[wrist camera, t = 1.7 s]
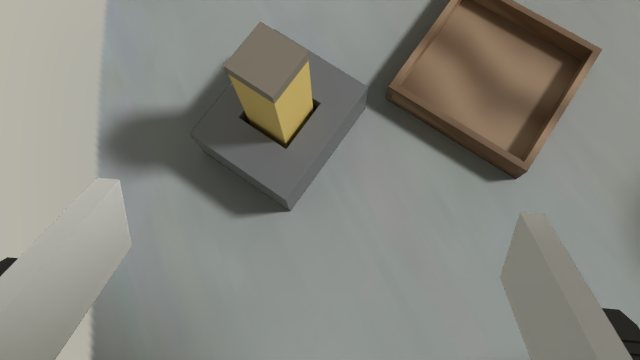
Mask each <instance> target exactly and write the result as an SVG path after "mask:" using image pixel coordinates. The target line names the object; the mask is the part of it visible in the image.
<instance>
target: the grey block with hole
mask: <svg viewBox="0 0 640 360" xmlns="http://www.w3.org/2000/svg"><path fill="white" fill-rule="evenodd" d="M274 30H275V29H274ZM275 31H276V32H278V31H277V30H275ZM278 33H280V32H278ZM280 34H281V33H280ZM281 35H283V34H281ZM283 36H285V35H283ZM285 37H286V36H285ZM286 38H288V37H286ZM288 39H289V38H288ZM289 40H291V39H289ZM291 41H293V40H291ZM293 42H294V41H293ZM294 43H296V42H294ZM296 44H297V45H299V44H298V43H296ZM299 46H301V45H299ZM301 47H302V46H301ZM302 48H304V47H302ZM304 49H306V48H304ZM306 50H307V49H306ZM307 51H309V50H307ZM309 70H310V81H311V91H312V102H313V114H312V116H311V117H310V118H309V120H308V121H307V122H306V124H305V125H304V126H303V128H302V129H301V130H300V132H299V133H298V134H297V136H296V137H295V138H294V140H293V141H292V142H291V144H290V145H289V146H288V148H287V149H285V148H284V147H282V146H281V145H279V144H278V143H276V142H275V141H273V140H272V139H270V138H269V137H267V136H266V135H264V134H263V133H261V132H260V131H258V130H257V129H255V128H254V127H252V126H251V124H250V122H249V120H248V118H247V115H246V113H245V111H244V109H243V106H242V104H241V102H240V99H239V97H238V95H237V93H236V90H235V88H234V86H233V84H232V82H231V83H230V85H229V86H228V87H227V88H226V90H225V91H224V92H223V93H222V94H221V96H220V97H219V98H218V99H217V101H216V102H215V103H214V104H213V106H212V107H211V108H210V109H209V110H208V112H207V113H206V114H205V115H204V117H203V118H202V119H201V120H200V122H199V123H198V124H197V125H196V126H195V128H194V129H193V130H192V131H191V133H190V135H191V136H192V137H193V139H194V140H195V141H196V142H197V143H198V145H199V146H200V147H201V148H202V150H203V151H204V152H206V153H207V154H209V155H210V156H212V157H213V158H215V159H216V160H217V161H219V162H220V163H222V164H223V165H225V166H226V167H227V168H229V169H230V170H232V171H233V172H235V173H236V174H238V175H239V176H240V177H242V178H243V179H245V180H246V181H248V182H249V183H251V184H252V185H253V186H255V187H256V188H258V189H259V190H261V191H262V192H264V193H265V194H266V195H268V196H269V197H271V198H272V199H274V200H275V201H277V202H278V203H279V204H281V205H282V206H284V207H285V208H287V209H288V210H289V211H291V210H292V208H293V207H294V206H295V204H296V203H297V201H298V200H299V199H300V197H301V196H302V195H303V193H304V192H305V190H306V189H307V188H308V186H309V185H310V184H311V182H312V181H313V179H314V178H315V177H316V175H317V174H318V173H319V171H320V170H321V168H322V167H323V166H324V164H325V163H326V162H327V160H328V159H329V157H330V156H331V155H332V153H333V152H334V151H335V149H336V148H337V146H338V145H339V144H340V142H341V141H342V140H343V138H344V137H345V135H346V134H347V133H348V131H349V130H350V129H351V127H352V126H353V124H354V123H355V122H356V120H357V119H358V118H359V116H360V115H361V113H362V112H363V111H364V109H365V105H366V99H367V93H368V87H367V86H366V85H364V84H362V83H361V82H359V81H357V80H356V79H354V78H353V77H351V76H349V75H348V74H346V73H345V72H343V71H341V70H340V69H338V68H336V67H335V66H333V65H332V64H330V63H328V62H327V61H325V60H323V59H322V58H320V57H319V56H317V55H315V54H314V53H312V52H311V51H309Z"/></svg>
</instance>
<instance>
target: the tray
mask: <svg viewBox="0 0 640 360" xmlns="http://www.w3.org/2000/svg"><path fill="white" fill-rule="evenodd" d="M601 51H602V49H600V48H599V47H597V46H595V45H593V44H591V43H589V42H588V41H586V40H584V39H582V38H580V37H579V36H577V35H575V34H573V33H571V32H569V31H568V30H566V29H564V28H562V27H560V26H558V25H557V24H555V23H553V22H551V21H549V20H547V19H546V18H544V17H542V16H540V15H538V14H536V13H535V12H533V11H531V10H529V9H527V8H526V7H524V6H522V5H520V4H518V3H516V2H515V1H513V0H450V2H449V3H448V4H447V6H446V7H445V9H444V10H443V11H442V13H441V14H440V16H439V17H438V18H437V20H436V21H435V22H434V24H433V25H432V27H431V28H430V29H429V31H428V32H427V34H426V35H425V36H424V38H423V39H422V40H421V42H420V43H419V45H418V46H417V47H416V49H415V50H414V52H413V53H412V54H411V56H410V57H409V58H408V60H407V61H406V63H405V64H404V65H403V67H402V68H401V70H400V71H399V72H398V74H397V75H396V76H395V78H394V79H393V81H392V82H391V83H390V85H389V86H388V90H387V94H386V99H388V100H389V101H391V102H392V103H394V104H396V105H397V106H399V107H401V108H402V109H404V110H405V111H407V112H409V113H410V114H412V115H413V116H415V117H417V118H418V119H420V120H422V121H423V122H425V123H426V124H428V125H430V126H431V127H433V128H435V129H436V130H438V131H439V132H441V133H443V134H444V135H446V136H447V137H449V138H451V139H452V140H454V141H456V142H457V143H459V144H460V145H462V146H464V147H465V148H467V149H469V150H470V151H472V152H473V153H475V154H477V155H478V156H480V157H481V158H483V159H485V160H486V161H488V162H490V163H491V164H493V165H494V166H496V167H498V168H499V169H501V170H503V171H504V172H506V173H507V174H509V175H511V176H512V177H514V178H515V179H517V178H518V177H520V176H521V175H523V174H524V173H526V172H527V171H528V169H529V168H530V166H531V164H532V163H533V161H534V160H535V158H536V156H537V155H538V153H539V151H540V150H541V148H542V147H543V145H544V143H545V142H546V140H547V138H548V137H549V135H550V134H551V132H552V130H553V129H554V127H555V125H556V124H557V122H558V121H559V119H560V117H561V116H562V114H563V112H564V111H565V109H566V108H567V106H568V104H569V103H570V101H571V100H572V98H573V96H574V95H575V93H576V91H577V90H578V88H579V87H580V85H581V83H582V82H583V80H584V78H585V77H586V75H587V74H588V72H589V70H590V69H591V67H592V65H593V64H594V62H595V61H596V59H597V57H598V56H599V54H600V52H601Z"/></svg>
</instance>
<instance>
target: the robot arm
mask: <svg viewBox="0 0 640 360" xmlns="http://www.w3.org/2000/svg"><path fill="white" fill-rule="evenodd" d="M131 246H132V244H131V239H130V234H129V228H128V223H127V217H126V212H125V207H124V201H123V196H122V190H121V185H120V180H116V179H104V178H96V179H95V180H94V181H93V183H92V184H91V185H90V186H89V187H88V188H87V189H86V190H85V191H84V192H83V193H82V194H81V195H80V196H79V197H78V198H77V199H76V200H75V201H74V202H73V203H72V204H71V205H70V206H69V207H68V208H67V209H66V210H65V211H64V212H63V213H62V214H61V215H60V216H59V217H58V218H57V219H56V220H55V221H54V222H53V223H52V224H51V225H50V226H49V227H48V228H47V229H46V230H45V232H44V233H43V234H42V235H41V236H40V237H39V238H38V239H37V240H36V241H35V242H34V243H33V244H32V245H31V246H30V247H29V248H28V249H27V250H26V251H25V252H24V253H23V254H22V255H21V256H20V257H19V258H6V259H4V260H2V261H1V262H0V360H55V359H56V357H57V356H58V354H59V353H60V351H61V349H62V348H63V347H64V345H65V344H66V342H67V341H68V339H69V338H70V337H71V335H72V334H73V332H74V331H75V329H76V328H77V326H78V325H79V323H80V322H81V320H82V319H83V317H84V316H85V314H86V313H87V311H88V310H89V309H90V307H91V306H92V304H93V303H94V301H95V300H96V298H97V297H98V295H99V294H100V292H101V291H102V289H103V288H104V286H105V285H106V283H107V282H108V280H109V279H110V277H111V276H112V275H113V273H114V272H115V270H116V269H117V267H118V266H119V264H120V263H121V261H122V260H123V258H124V257H125V255H126V254H127V252H128V251H129V249H130V248H131ZM500 279H501V282H502V284H503V287H504V290H505V292H506V295H507V298H508V300H509V303H510V305H511V308H512V311H513V313H514V316H515V319H516V321H517V324H518V326H519V329H520V332H521V334H522V337H523V340H524V342H525V345H526V348H527V350H528V353H529V355H530V358H531V360H640V329H639V328H638V326H637V325H636V324H635V323H634V322H633V321H632V320H630V319H629V318H628V317H627V316H626V315H625V314H624V313H622V312H621V311H620V310H616V309H605V308H601V306H600V305H599V303H598V301H597V300H596V298H595V296H594V295H593V293H592V291H591V290H590V288H589V286H588V285H587V283H586V282H585V280H584V278H583V277H582V275H581V273H580V272H579V270H578V268H577V267H576V265H575V263H574V262H573V260H572V258H571V257H570V255H569V253H568V252H567V250H566V249H565V247H564V245H563V244H562V242H561V240H560V239H559V237H558V235H557V234H556V232H555V230H554V229H553V227H552V225H551V224H550V222H549V220H548V219H547V217H546V215H545V214H541V213H528V212H520V214H519V218H518V221H517V224H516V227H515V230H514V234H513V237H512V240H511V243H510V247H509V250H508V253H507V256H506V259H505V263H504V266H503V269H502V272H501V276H500Z"/></svg>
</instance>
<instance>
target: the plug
mask: <svg viewBox="0 0 640 360" xmlns="http://www.w3.org/2000/svg"><path fill="white" fill-rule="evenodd" d="M224 68H225V70H226V72H227V74H228V75H229V77H230V79H231V81H232V84H233V86H234V88H235V90H236V93H237V95H238V97H239V99H240V102H241V104H242V106H243V109H244V111H245V113H246V115H247V118H248V120H249V122H250V124H251V126H252V127H254V128H255V129H257V130H258V131H260V132H261V133H263V134H264V135H266V136H267V137H269V138H270V139H272V140H273V141H275V142H276V143H278V144H279V145H281V146H282V147H284V148H285V149H287V148H288V146H289V145H290V144H291V142H292V141H293V140H294V138H295V137H296V136H297V134H298V133H299V132H300V130H301V129H302V128H303V126H304V125H305V124H306V122H307V121H308V120H309V118H310V117H311V116H312V114H313V102H312V91H311V81H310V70H309V51H307V50H306V49H304V48H302V47H301V46H299V45H297V44H296V43H294V42H293V41H291V40H289V39H288V38H286V37H285V36H283V35H281V34H280V33H278V32H276V31H275V30H273V29H272V28H270V27H268V26H267V25H265V24H264V23H262V22H259V24H258V25H257V26H256V27H255V28H254V30H253V31H252V32H251V33H250V35H249V36H248V37H247V38H246V39H245V41H244V42H243V43H242V44H241V45H240V47H239V48H238V49H237V50H236V52H235V53H234V54H233V55H232V56H231V58H230V59H229V60H228V61H227V62H226V64H225V65H224Z"/></svg>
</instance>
